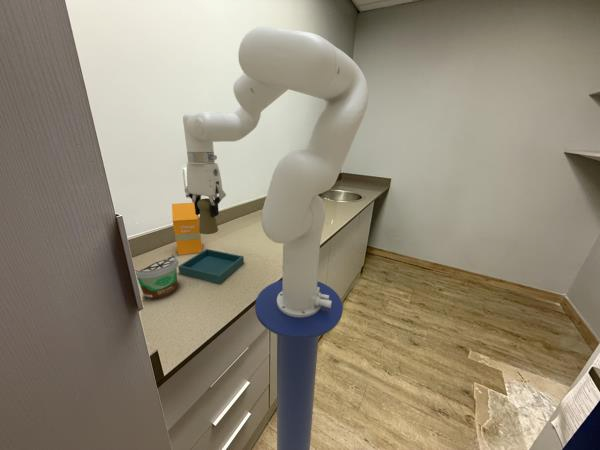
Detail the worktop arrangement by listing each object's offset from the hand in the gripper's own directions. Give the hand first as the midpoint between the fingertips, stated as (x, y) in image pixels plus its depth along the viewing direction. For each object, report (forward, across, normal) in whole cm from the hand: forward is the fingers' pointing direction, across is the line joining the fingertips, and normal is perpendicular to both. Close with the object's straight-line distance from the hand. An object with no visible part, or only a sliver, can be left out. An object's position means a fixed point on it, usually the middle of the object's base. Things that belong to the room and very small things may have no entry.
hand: (207, 214), depth 80 cm
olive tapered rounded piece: (+6, 0, 0) cm, 6 cm away
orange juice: (+21, +18, -10) cm, 30 cm away
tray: (+21, 0, -1) cm, 21 cm away
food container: (+21, +4, +16) cm, 27 cm away
